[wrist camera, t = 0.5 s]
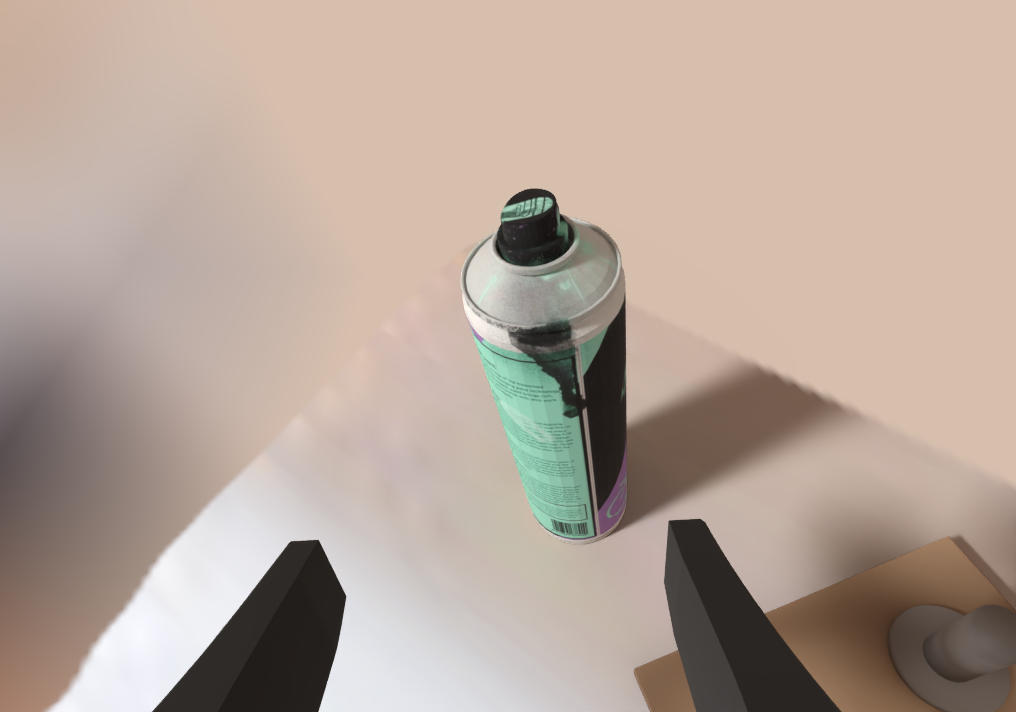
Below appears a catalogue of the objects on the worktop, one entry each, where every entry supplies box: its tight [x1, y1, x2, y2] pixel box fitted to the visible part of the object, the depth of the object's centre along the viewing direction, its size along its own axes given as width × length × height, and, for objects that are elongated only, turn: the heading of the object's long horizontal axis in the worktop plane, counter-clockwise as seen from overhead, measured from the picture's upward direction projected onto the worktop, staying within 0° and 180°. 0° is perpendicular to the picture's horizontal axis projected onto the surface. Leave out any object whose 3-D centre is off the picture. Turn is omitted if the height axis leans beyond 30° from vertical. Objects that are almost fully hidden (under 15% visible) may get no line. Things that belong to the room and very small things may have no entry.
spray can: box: [460, 189, 627, 544], centre depth 24 cm, size 6×6×20 cm
